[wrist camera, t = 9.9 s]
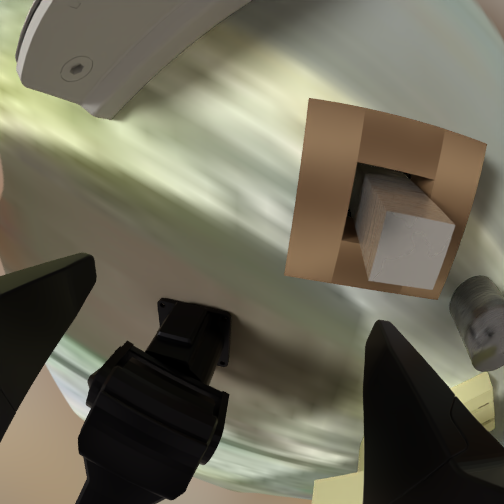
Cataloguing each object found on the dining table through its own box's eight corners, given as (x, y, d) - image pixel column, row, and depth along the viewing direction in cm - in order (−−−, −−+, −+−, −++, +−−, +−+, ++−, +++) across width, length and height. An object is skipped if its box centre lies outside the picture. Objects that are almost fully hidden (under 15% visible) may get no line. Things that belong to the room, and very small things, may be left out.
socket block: (422, 268, 21) (437, 299, 17) (290, 245, 22) (284, 275, 19) (458, 134, 16) (486, 144, 13) (310, 98, 17) (308, 98, 14)
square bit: (392, 214, 20) (432, 290, 12) (349, 207, 20) (368, 280, 12) (401, 171, 18) (455, 224, 10) (357, 162, 19) (386, 210, 11)
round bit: (481, 323, 22) (504, 371, 17) (441, 319, 22) (461, 371, 17) (503, 279, 20) (534, 324, 14) (462, 271, 20) (492, 320, 15)
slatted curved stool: (322, 385, 28) (302, 563, 13) (477, 318, 22) (543, 502, 6) (401, 476, 36) (400, 570, 21) (492, 441, 30) (508, 537, 14)
